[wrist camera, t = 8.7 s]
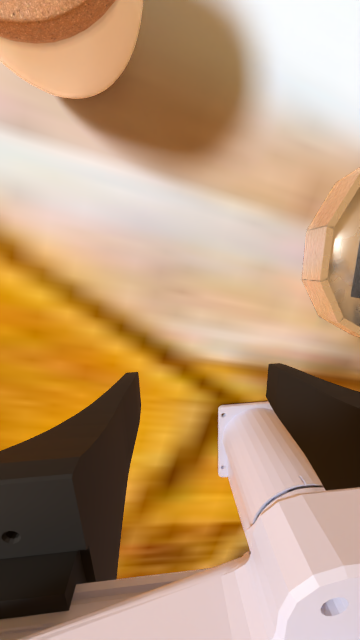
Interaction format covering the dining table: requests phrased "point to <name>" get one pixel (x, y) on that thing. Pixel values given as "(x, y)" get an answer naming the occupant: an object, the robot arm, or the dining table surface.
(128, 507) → the dining table surface
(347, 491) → the robot arm
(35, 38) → the lidded jar
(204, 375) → the dining table surface
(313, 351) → the dining table surface
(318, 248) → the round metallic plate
